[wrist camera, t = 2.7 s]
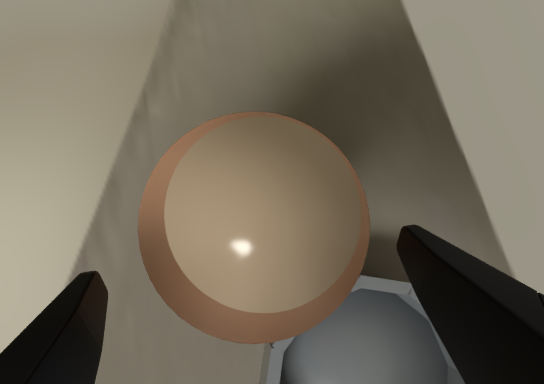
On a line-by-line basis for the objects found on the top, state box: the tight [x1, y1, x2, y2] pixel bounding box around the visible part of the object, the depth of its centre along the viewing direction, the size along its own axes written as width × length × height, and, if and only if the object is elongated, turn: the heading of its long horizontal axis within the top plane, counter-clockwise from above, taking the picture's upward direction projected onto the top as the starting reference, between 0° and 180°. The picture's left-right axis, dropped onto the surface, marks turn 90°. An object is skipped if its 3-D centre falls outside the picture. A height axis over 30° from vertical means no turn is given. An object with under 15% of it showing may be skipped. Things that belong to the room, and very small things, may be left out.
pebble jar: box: [138, 112, 370, 344], centre depth 12 cm, size 6×6×12 cm
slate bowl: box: [259, 275, 465, 384], centre depth 16 cm, size 10×10×2 cm
